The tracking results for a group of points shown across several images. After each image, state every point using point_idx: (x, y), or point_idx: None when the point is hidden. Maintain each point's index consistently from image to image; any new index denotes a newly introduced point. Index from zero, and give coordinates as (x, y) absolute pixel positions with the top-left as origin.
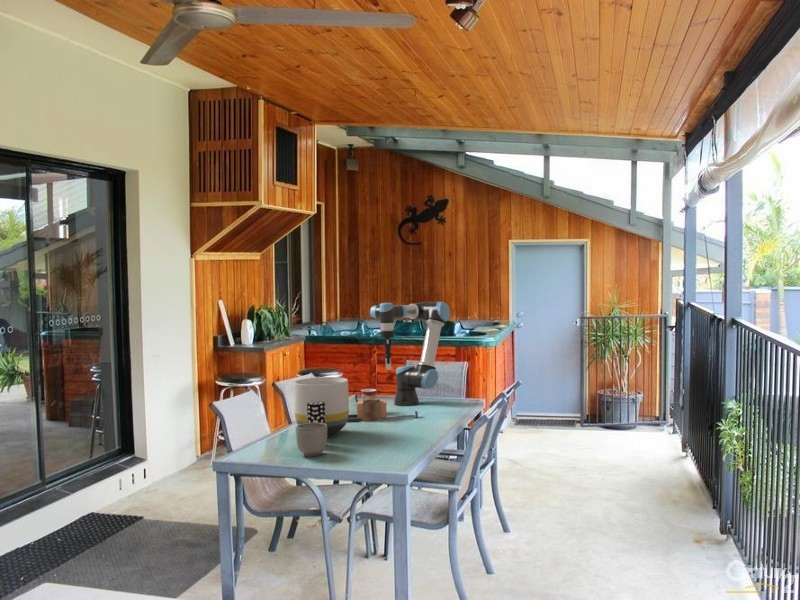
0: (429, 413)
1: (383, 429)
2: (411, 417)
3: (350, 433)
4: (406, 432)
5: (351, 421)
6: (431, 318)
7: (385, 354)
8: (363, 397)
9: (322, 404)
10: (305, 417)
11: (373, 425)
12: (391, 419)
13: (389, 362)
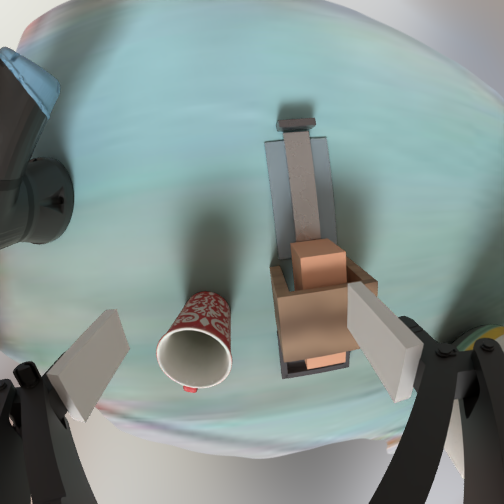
0: (217, 84)
1: (451, 233)
2: (309, 144)
3: (464, 308)
4: (479, 171)
5: None
6: None
7: (63, 422)
8: (304, 358)
9: None
10: None
11: (405, 269)
12: (333, 218)
13: (414, 325)
